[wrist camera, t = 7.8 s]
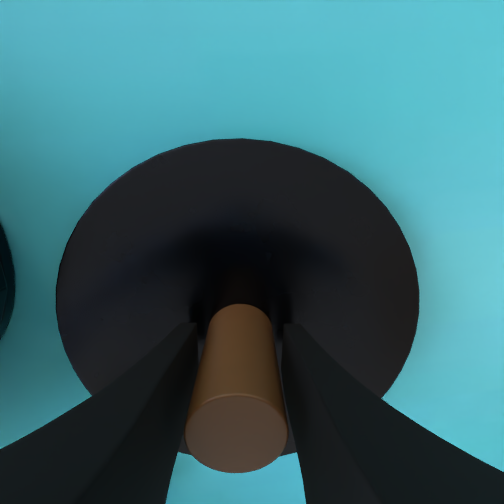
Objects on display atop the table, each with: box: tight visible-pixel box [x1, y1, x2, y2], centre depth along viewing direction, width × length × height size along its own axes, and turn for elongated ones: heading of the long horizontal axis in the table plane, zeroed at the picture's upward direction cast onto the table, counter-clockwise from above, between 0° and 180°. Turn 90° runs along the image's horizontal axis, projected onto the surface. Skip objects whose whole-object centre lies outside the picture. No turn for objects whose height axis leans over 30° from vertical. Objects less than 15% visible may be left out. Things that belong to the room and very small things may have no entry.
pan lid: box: [56, 138, 419, 473], centre depth 9 cm, size 14×14×6 cm
